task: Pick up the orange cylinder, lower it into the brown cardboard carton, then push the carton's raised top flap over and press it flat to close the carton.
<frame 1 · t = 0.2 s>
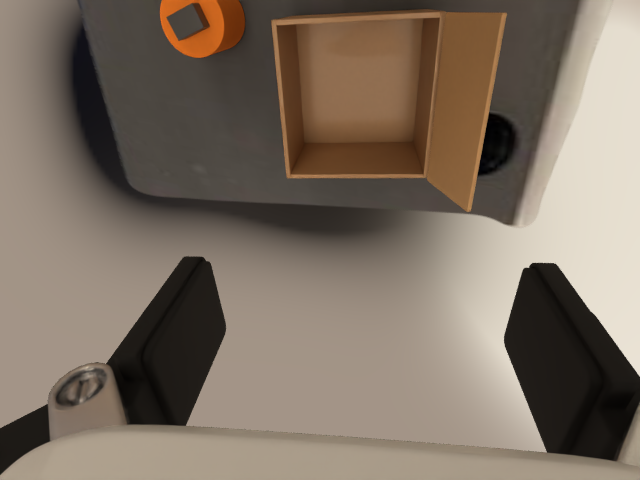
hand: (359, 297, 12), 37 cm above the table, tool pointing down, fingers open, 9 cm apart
orange cylinder: (217, 18, 41), on the table
carton: (358, 84, 43), on the table
flap: (458, 114, 30), point 14 cm above the table, hinge at 110.0°
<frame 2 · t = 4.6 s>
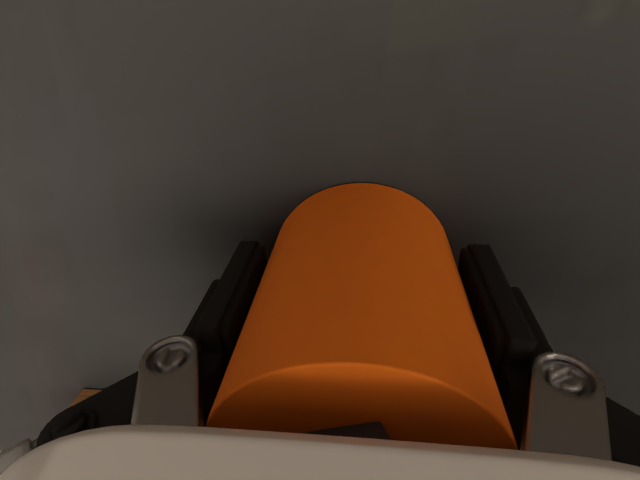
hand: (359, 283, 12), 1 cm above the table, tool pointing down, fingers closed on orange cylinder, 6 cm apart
orange cylinder: (360, 261, 13), on the table, touching gripper
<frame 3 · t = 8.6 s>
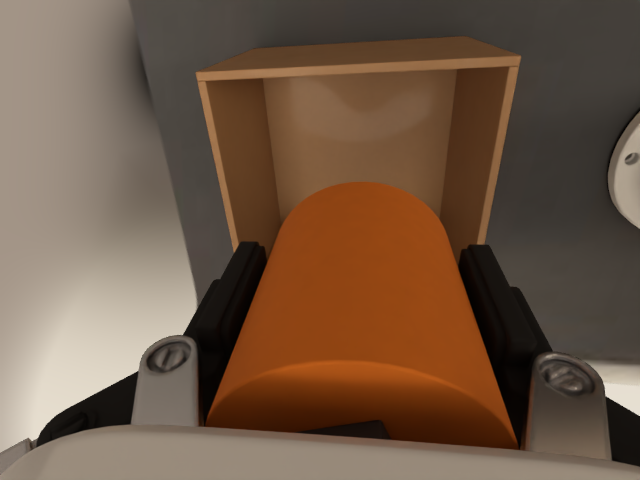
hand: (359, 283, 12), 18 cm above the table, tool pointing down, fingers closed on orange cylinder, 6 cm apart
orange cylinder: (360, 260, 13), point 17 cm above the table, touching gripper
carton: (357, 145, 29), on the table
when the fingers open (6 cm above the table, at t = 13.7 s): orange cylinder stays where it is, resting on carton.
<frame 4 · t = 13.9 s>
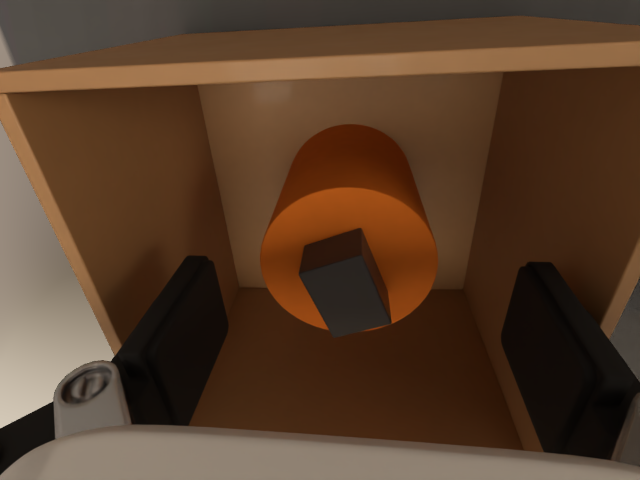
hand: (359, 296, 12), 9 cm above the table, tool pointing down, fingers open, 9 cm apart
orange cylinder: (349, 185, 19), resting on carton
carton: (346, 182, 19), on the table
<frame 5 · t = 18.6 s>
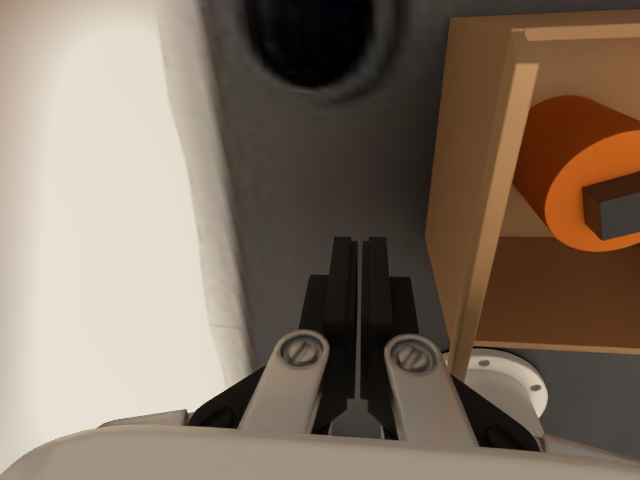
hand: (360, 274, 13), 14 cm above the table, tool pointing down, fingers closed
orange cylinder: (553, 147, 23), resting on carton
carton: (551, 142, 23), on the table
flap: (470, 283, 12), point 14 cm above the table, hinge at 106.1°
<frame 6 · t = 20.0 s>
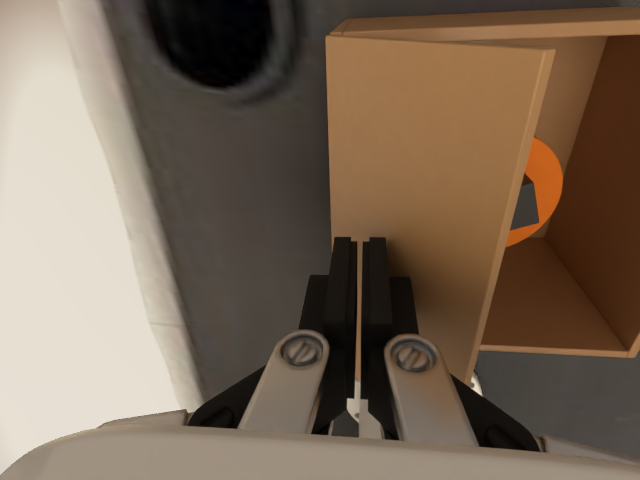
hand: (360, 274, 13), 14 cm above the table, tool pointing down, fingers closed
orange cylinder: (459, 147, 23), resting on carton
carton: (458, 142, 24), on the table
flap: (393, 273, 13), point 14 cm above the table, hinge at 50.9°, touching gripper
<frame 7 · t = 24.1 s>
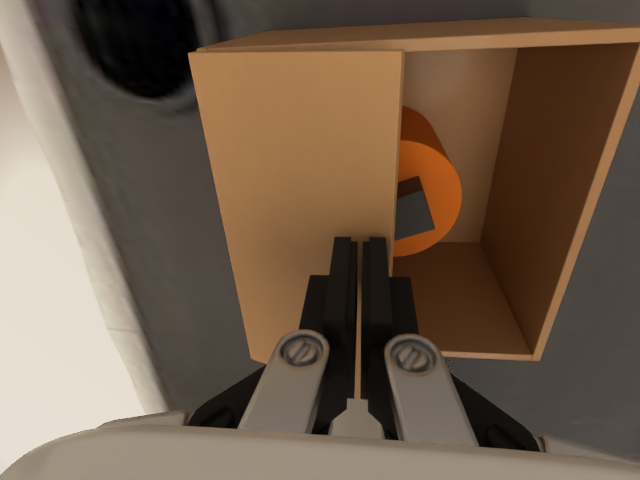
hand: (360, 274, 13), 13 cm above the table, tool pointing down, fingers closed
orange cylinder: (388, 154, 24), resting on carton
carton: (387, 149, 24), on the table
flap: (302, 256, 14), point 12 cm above the table, hinge at 19.5°, touching gripper
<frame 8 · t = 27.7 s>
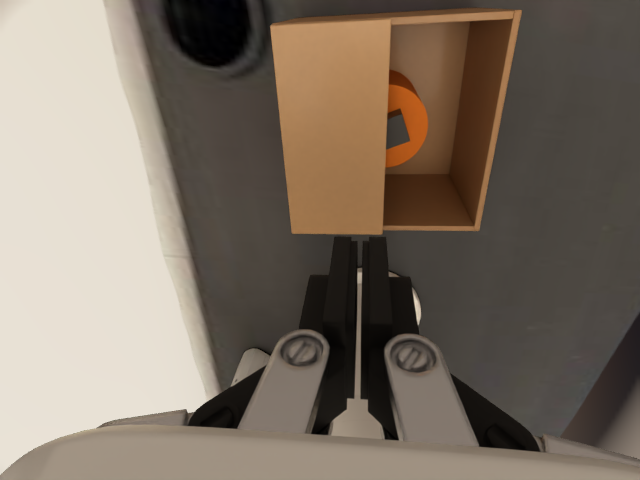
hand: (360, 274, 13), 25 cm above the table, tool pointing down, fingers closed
orange cylinder: (382, 106, 33), resting on carton
carton: (382, 103, 34), on the table
white rounded upright block: (274, 367, 54), on the table
flap: (333, 142, 25), point 11 cm above the table, hinge at -0.1°
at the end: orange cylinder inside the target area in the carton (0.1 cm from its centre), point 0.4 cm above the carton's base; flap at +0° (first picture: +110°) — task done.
